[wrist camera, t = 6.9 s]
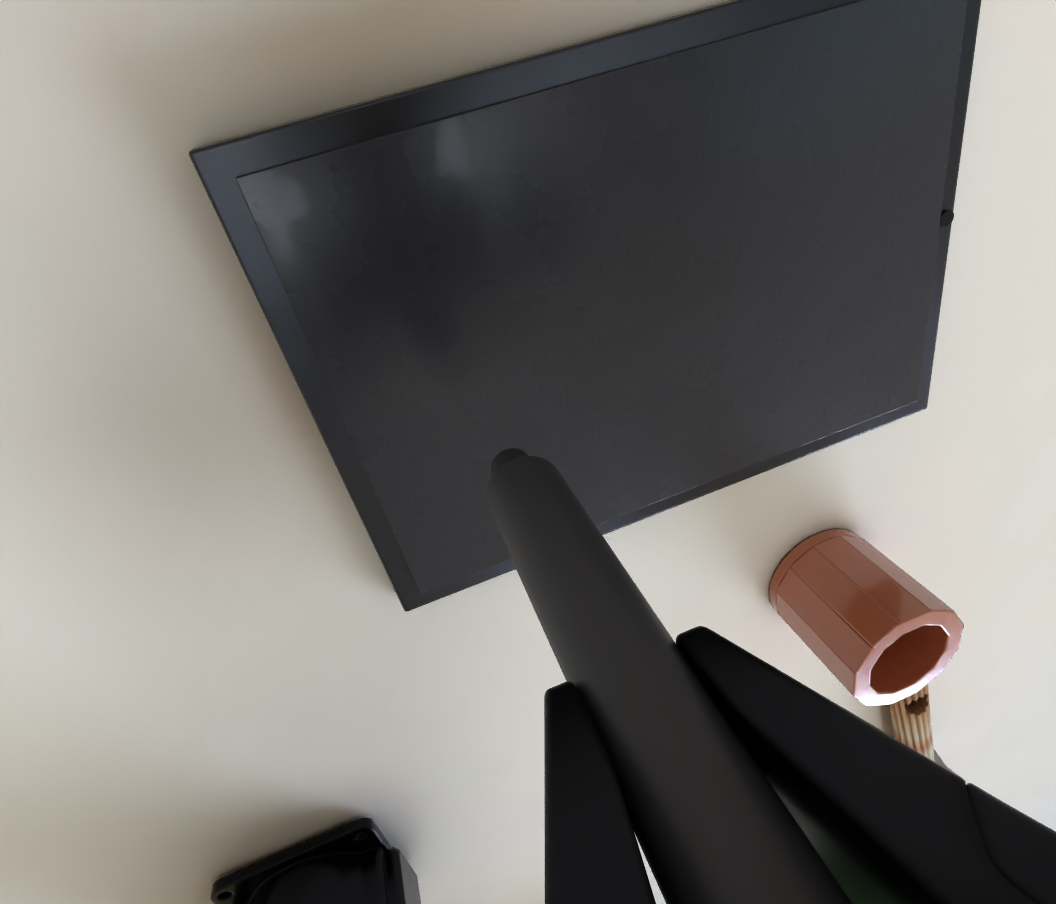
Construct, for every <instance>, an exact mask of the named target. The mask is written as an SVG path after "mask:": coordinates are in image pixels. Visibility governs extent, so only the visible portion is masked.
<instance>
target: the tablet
mask: <svg viewBox="0 0 1056 904" xmlns="http://www.w3.org/2000/svg"><path fill="white" fill-rule="evenodd" d="M980 6H981V0H732V1H729V2H725V3H721V4H718V5H714V6H710V7H707V8H703V9H699V10H696V11H692V12H689V13H685V14H681V15H678V16H674V17H670V18H667V19H663V20H659V21H656V22H652V23H648V24H645V25H641V26H638V27H634V28H630V29H627V30H623V31H619V32H616V33H612V34H608V35H605V36H601V37H598V38H594V39H590V40H587V41H583V42H579V43H576V44H572V45H568V46H565V47H561V48H557V49H554V50H550V51H547V52H543V53H539V54H536V55H532V56H528V57H525V58H521V59H517V60H514V61H510V62H506V63H503V64H499V65H496V66H492V67H488V68H485V69H481V70H477V71H474V72H470V73H466V74H463V75H459V76H455V77H452V78H448V79H445V80H441V81H437V82H434V83H430V84H426V85H423V86H419V87H415V88H412V89H408V90H405V91H401V92H397V93H394V94H390V95H386V96H383V97H379V98H375V99H372V100H368V101H364V102H361V103H357V104H354V105H350V106H346V107H343V108H339V109H335V110H332V111H328V112H324V113H321V114H317V115H313V116H310V117H306V118H303V119H299V120H295V121H292V122H288V123H284V124H281V125H277V126H273V127H270V128H266V129H262V130H259V131H255V132H252V133H248V134H244V135H241V136H237V137H233V138H230V139H226V140H222V141H219V142H215V143H212V144H208V145H204V146H201V147H197V148H194V149H192V150H191V151H189V156H190V158H191V160H192V162H193V164H194V167H195V169H196V171H197V173H198V175H199V177H200V179H201V181H202V183H203V186H204V188H205V190H206V192H207V194H208V196H209V198H210V200H211V202H212V205H213V207H214V209H215V211H216V213H217V215H218V217H219V219H220V222H221V224H222V226H223V228H224V230H225V232H226V234H227V236H228V238H229V241H230V243H231V245H232V247H233V249H234V251H235V253H236V255H237V257H238V260H239V262H240V264H241V266H242V268H243V270H244V272H245V274H246V276H247V279H248V281H249V283H250V285H251V287H252V289H253V291H254V293H255V296H256V298H257V300H258V302H259V304H260V306H261V308H262V310H263V312H264V315H265V317H266V319H267V321H268V323H269V325H270V327H271V329H272V331H273V334H274V336H275V338H276V340H277V342H278V344H279V346H280V348H281V350H282V353H283V355H284V357H285V359H286V361H287V363H288V365H289V367H290V370H291V372H292V374H293V376H294V378H295V380H296V382H297V384H298V386H299V389H300V391H301V393H302V395H303V397H304V399H305V401H306V403H307V405H308V408H309V410H310V412H311V414H312V416H313V418H314V420H315V422H316V424H317V427H318V429H319V431H320V433H321V435H322V437H323V439H324V441H325V444H326V446H327V448H328V450H329V452H330V454H331V456H332V458H333V460H334V463H335V465H336V467H337V469H338V471H339V473H340V475H341V477H342V479H343V482H344V484H345V486H346V488H347V490H348V492H349V494H350V496H351V498H352V501H353V503H354V505H355V507H356V509H357V511H358V513H359V515H360V518H361V520H362V522H363V524H364V526H365V528H366V530H367V532H368V534H369V537H370V539H371V541H372V543H373V545H374V547H375V549H376V551H377V553H378V556H379V558H380V560H381V562H382V564H383V566H384V568H385V570H386V572H387V575H388V577H389V579H390V581H391V583H392V585H393V587H394V589H395V591H396V594H397V596H398V598H399V600H400V602H401V604H402V606H403V608H404V610H405V611H410V610H412V609H415V608H417V607H420V606H422V605H425V604H428V603H430V602H433V601H435V600H438V599H440V598H443V597H445V596H448V595H451V594H453V593H456V592H458V591H461V590H463V589H466V588H468V587H471V586H474V585H476V584H479V583H481V582H484V581H486V580H489V579H491V578H494V577H497V576H499V575H502V574H504V573H507V572H509V571H512V570H515V569H516V567H515V565H514V563H513V561H512V558H511V556H510V554H509V552H508V549H507V547H506V545H505V543H504V541H503V538H502V536H501V534H500V532H499V529H498V527H497V525H496V523H495V521H494V518H493V516H492V514H491V512H490V509H489V507H488V505H487V500H486V492H487V487H488V484H489V482H490V480H491V478H492V474H491V464H492V462H493V460H494V458H495V457H496V456H497V455H498V454H499V453H500V452H501V451H503V450H506V449H509V448H517V449H521V450H523V451H524V452H526V453H527V454H528V456H536V457H541V458H544V459H546V460H548V461H549V462H551V463H552V464H553V465H554V466H555V467H556V468H557V470H558V471H559V473H560V474H561V475H562V477H563V478H564V480H565V481H566V483H567V484H568V486H569V487H570V489H571V490H572V492H573V493H574V495H575V496H576V498H577V499H578V501H579V502H580V503H581V505H582V506H583V508H584V509H585V511H586V512H587V514H588V515H589V517H590V518H591V520H592V521H593V523H594V524H595V526H596V527H597V529H598V530H599V531H600V533H601V534H602V535H604V534H607V533H609V532H612V531H614V530H617V529H619V528H622V527H625V526H627V525H630V524H632V523H635V522H637V521H640V520H642V519H645V518H648V517H650V516H653V515H655V514H658V513H660V512H663V511H665V510H668V509H671V508H673V507H676V506H678V505H681V504H683V503H686V502H688V501H691V500H694V499H696V498H699V497H701V496H704V495H706V494H709V493H712V492H714V491H717V490H719V489H722V488H724V487H727V486H729V485H732V484H735V483H737V482H740V481H742V480H745V479H747V478H750V477H752V476H755V475H758V474H760V473H763V472H765V471H768V470H770V469H773V468H775V467H778V466H781V465H783V464H786V463H788V462H791V461H793V460H796V459H799V458H801V457H804V456H806V455H809V454H811V453H814V452H816V451H819V450H822V449H824V448H827V447H829V446H832V445H834V444H837V443H839V442H842V441H845V440H847V439H850V438H852V437H855V436H857V435H860V434H862V433H865V432H868V431H870V430H873V429H875V428H878V427H880V426H883V425H885V424H888V423H891V422H893V421H896V420H898V419H901V418H903V417H906V416H909V415H911V414H914V413H916V412H919V411H921V410H924V409H926V408H927V403H928V396H929V388H930V381H931V373H932V366H933V358H934V351H935V343H936V336H937V328H938V321H939V313H940V306H941V298H942V291H943V283H944V276H945V268H946V261H947V253H948V246H949V238H950V231H951V223H952V221H953V218H954V213H953V208H954V201H955V193H956V186H957V178H958V171H959V163H960V156H961V148H962V141H963V133H964V126H965V118H966V111H967V103H968V96H969V88H970V81H971V73H972V66H973V58H974V51H975V43H976V36H977V28H978V21H979V13H980Z"/></svg>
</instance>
